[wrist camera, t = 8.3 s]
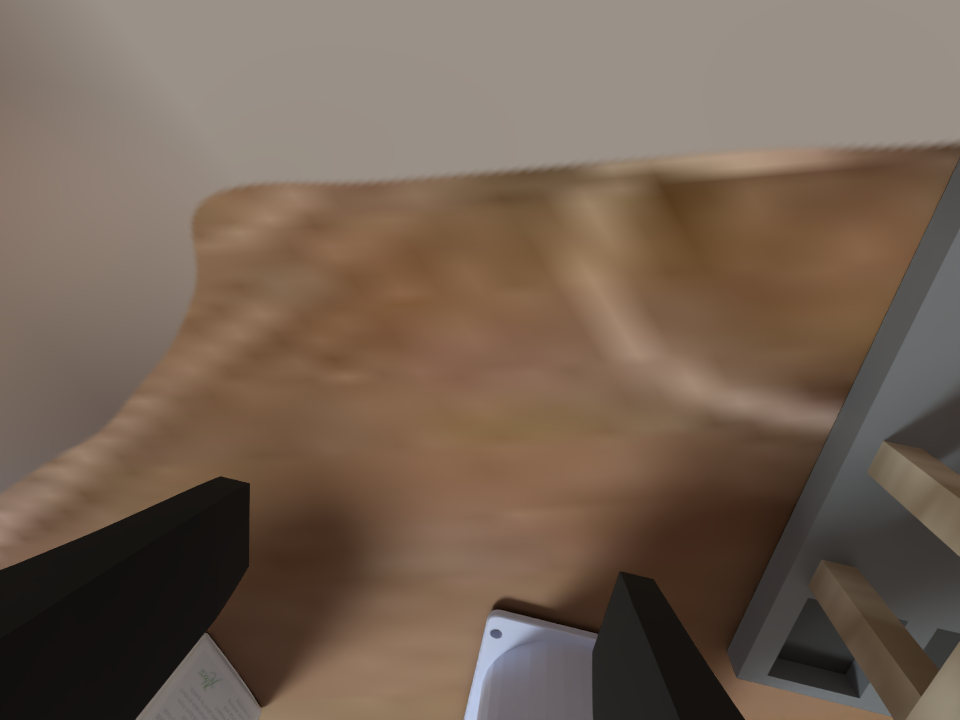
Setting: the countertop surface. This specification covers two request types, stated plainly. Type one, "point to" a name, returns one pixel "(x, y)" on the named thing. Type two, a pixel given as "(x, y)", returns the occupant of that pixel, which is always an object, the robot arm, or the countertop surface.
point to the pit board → (872, 495)
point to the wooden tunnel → (865, 616)
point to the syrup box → (203, 689)
